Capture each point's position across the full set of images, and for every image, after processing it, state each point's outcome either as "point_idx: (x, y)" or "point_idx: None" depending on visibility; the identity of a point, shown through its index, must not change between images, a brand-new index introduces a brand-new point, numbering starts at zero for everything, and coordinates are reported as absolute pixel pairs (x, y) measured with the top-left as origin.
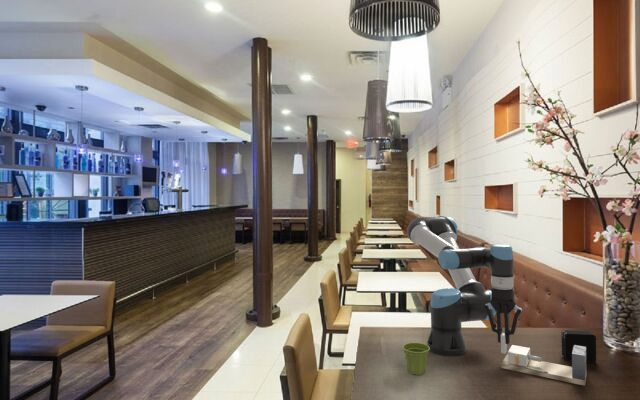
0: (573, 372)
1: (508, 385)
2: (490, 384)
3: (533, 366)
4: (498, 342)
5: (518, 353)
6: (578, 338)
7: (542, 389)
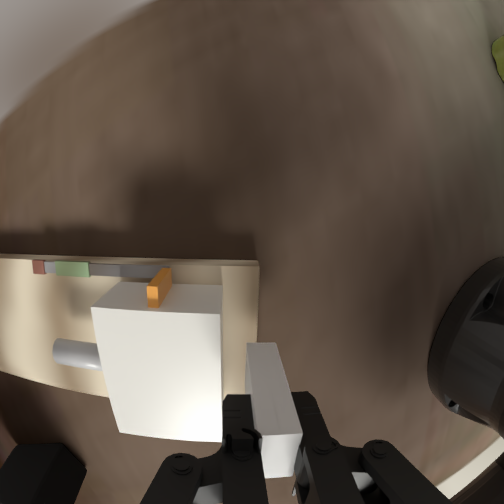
0: None
1: (186, 55)
2: (267, 26)
3: None
4: (307, 392)
5: (143, 319)
6: (11, 494)
7: (52, 111)
